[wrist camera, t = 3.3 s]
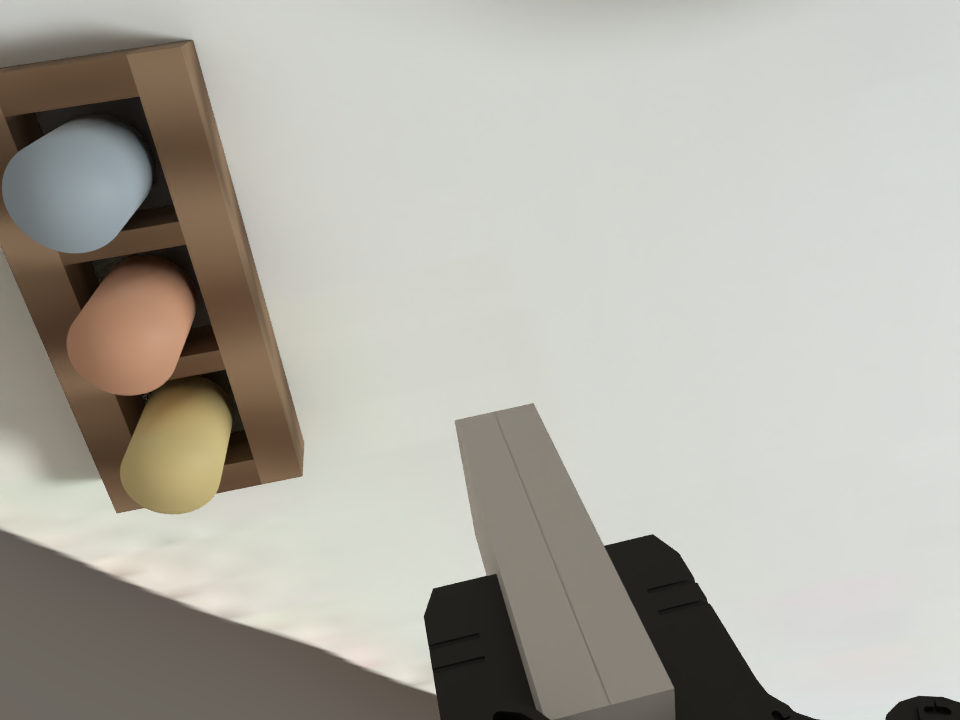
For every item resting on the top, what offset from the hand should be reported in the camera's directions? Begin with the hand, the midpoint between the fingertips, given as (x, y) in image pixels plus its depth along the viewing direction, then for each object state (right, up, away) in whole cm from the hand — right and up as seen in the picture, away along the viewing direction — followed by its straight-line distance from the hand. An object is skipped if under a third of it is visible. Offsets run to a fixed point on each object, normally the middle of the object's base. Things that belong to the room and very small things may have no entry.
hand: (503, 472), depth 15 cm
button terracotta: (-15, +5, +20) cm, 25 cm away
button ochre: (-14, 0, +23) cm, 27 cm away
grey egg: (-16, +10, +17) cm, 25 cm away
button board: (-15, +6, +21) cm, 27 cm away
